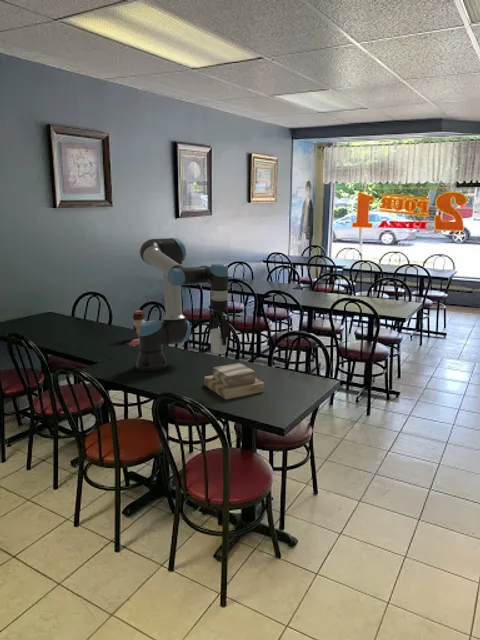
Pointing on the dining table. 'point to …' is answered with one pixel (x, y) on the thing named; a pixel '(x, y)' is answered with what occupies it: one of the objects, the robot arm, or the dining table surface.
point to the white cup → (216, 341)
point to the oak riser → (233, 381)
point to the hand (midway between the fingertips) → (218, 349)
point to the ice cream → (137, 325)
